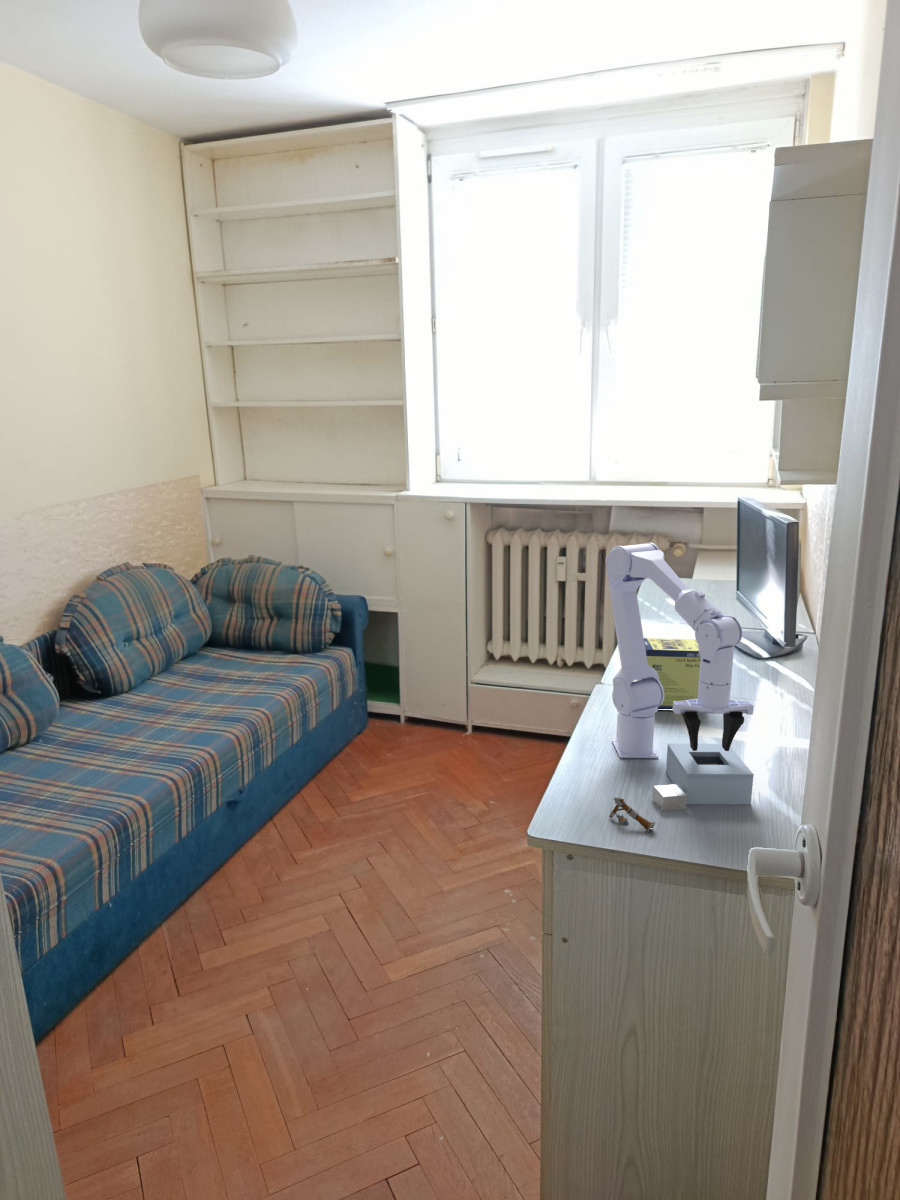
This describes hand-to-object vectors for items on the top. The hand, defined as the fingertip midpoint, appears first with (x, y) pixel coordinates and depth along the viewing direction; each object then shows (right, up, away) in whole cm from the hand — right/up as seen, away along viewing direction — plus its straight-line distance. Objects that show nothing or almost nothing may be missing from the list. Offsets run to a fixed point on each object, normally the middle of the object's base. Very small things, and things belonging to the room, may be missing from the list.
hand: (709, 748), depth 155 cm
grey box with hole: (0, -8, +2) cm, 8 cm away
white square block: (-9, -9, -5) cm, 14 cm away
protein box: (+5, +2, +47) cm, 47 cm away
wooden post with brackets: (-18, -11, -13) cm, 25 cm away
